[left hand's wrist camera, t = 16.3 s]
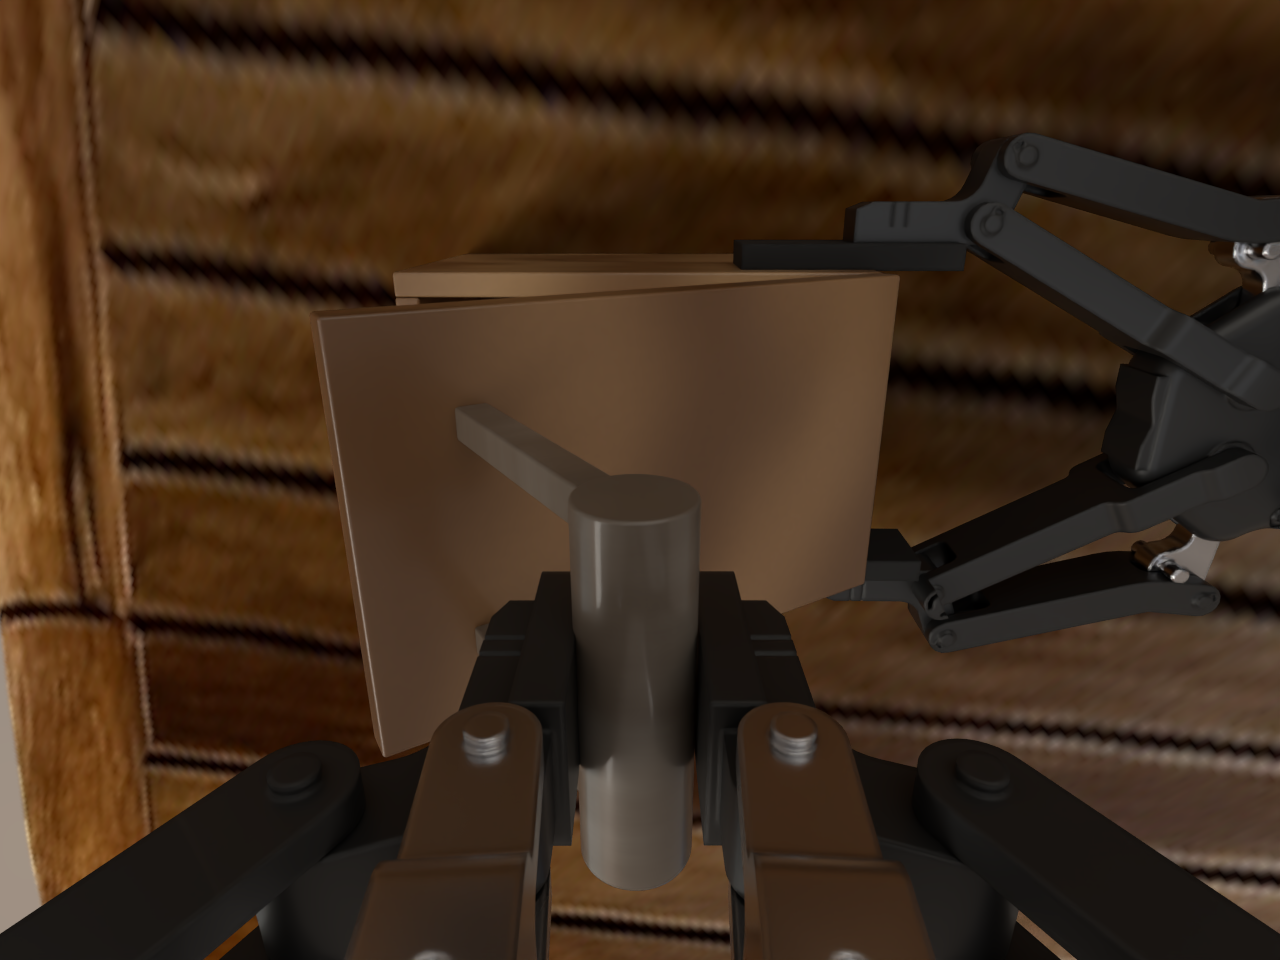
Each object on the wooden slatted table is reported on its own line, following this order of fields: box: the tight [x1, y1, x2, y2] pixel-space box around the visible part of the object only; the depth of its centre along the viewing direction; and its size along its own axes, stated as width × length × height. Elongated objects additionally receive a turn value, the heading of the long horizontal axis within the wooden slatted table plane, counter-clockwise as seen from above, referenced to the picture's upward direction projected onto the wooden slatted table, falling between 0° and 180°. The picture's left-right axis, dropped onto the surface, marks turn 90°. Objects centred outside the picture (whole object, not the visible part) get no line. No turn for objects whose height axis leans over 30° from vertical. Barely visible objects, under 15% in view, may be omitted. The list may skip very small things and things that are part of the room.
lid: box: [310, 273, 900, 891], centre depth 16 cm, size 15×10×8 cm
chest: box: [393, 254, 881, 306], centre depth 27 cm, size 14×10×9 cm
